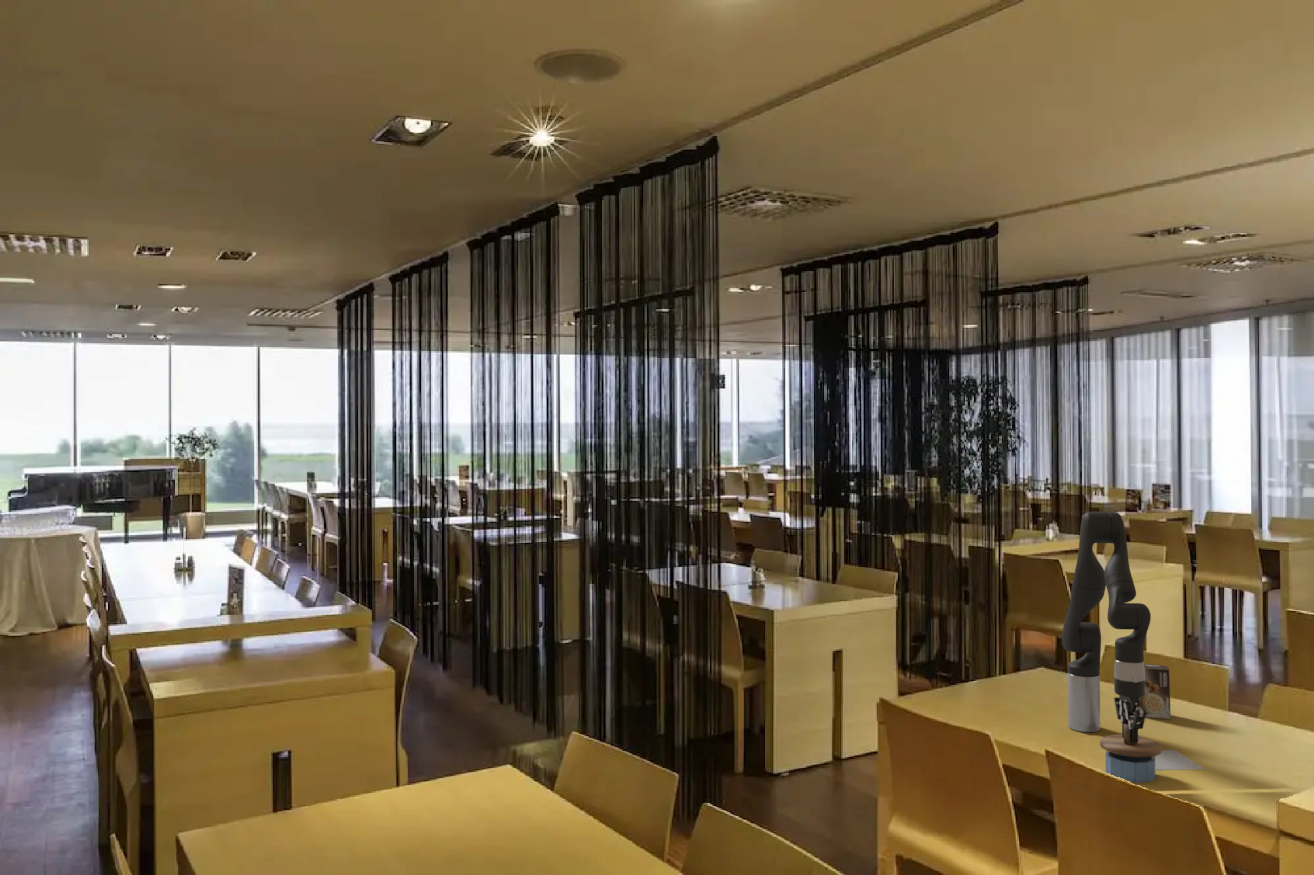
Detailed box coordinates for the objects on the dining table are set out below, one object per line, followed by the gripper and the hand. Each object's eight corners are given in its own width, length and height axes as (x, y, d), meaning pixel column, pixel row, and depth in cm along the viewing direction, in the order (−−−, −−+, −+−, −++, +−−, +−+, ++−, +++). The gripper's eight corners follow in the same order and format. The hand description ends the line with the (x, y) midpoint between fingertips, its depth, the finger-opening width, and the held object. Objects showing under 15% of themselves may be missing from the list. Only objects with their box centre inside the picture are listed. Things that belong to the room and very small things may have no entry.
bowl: (1098, 770, 275) (1098, 748, 275) (1141, 769, 275) (1141, 747, 275) (1118, 785, 263) (1118, 763, 263) (1164, 785, 263) (1163, 762, 263)
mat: (1119, 753, 288) (1119, 750, 288) (1175, 752, 288) (1175, 749, 288) (1147, 773, 272) (1147, 770, 272) (1205, 772, 272) (1205, 769, 272)
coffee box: (1168, 714, 326) (1168, 665, 325) (1170, 719, 320) (1170, 669, 319) (1137, 711, 329) (1137, 663, 329) (1139, 717, 323) (1138, 667, 323)
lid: (1090, 739, 277) (1090, 717, 277) (1144, 738, 277) (1144, 716, 277) (1115, 757, 262) (1115, 734, 262) (1172, 756, 262) (1172, 733, 262)
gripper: (1103, 670, 276) (1104, 732, 276) (1127, 683, 262) (1128, 749, 262) (1130, 670, 276) (1131, 732, 276) (1156, 683, 262) (1157, 748, 262)
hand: (1130, 740), depth 269 cm, fingers closed on lid, 3 cm apart
